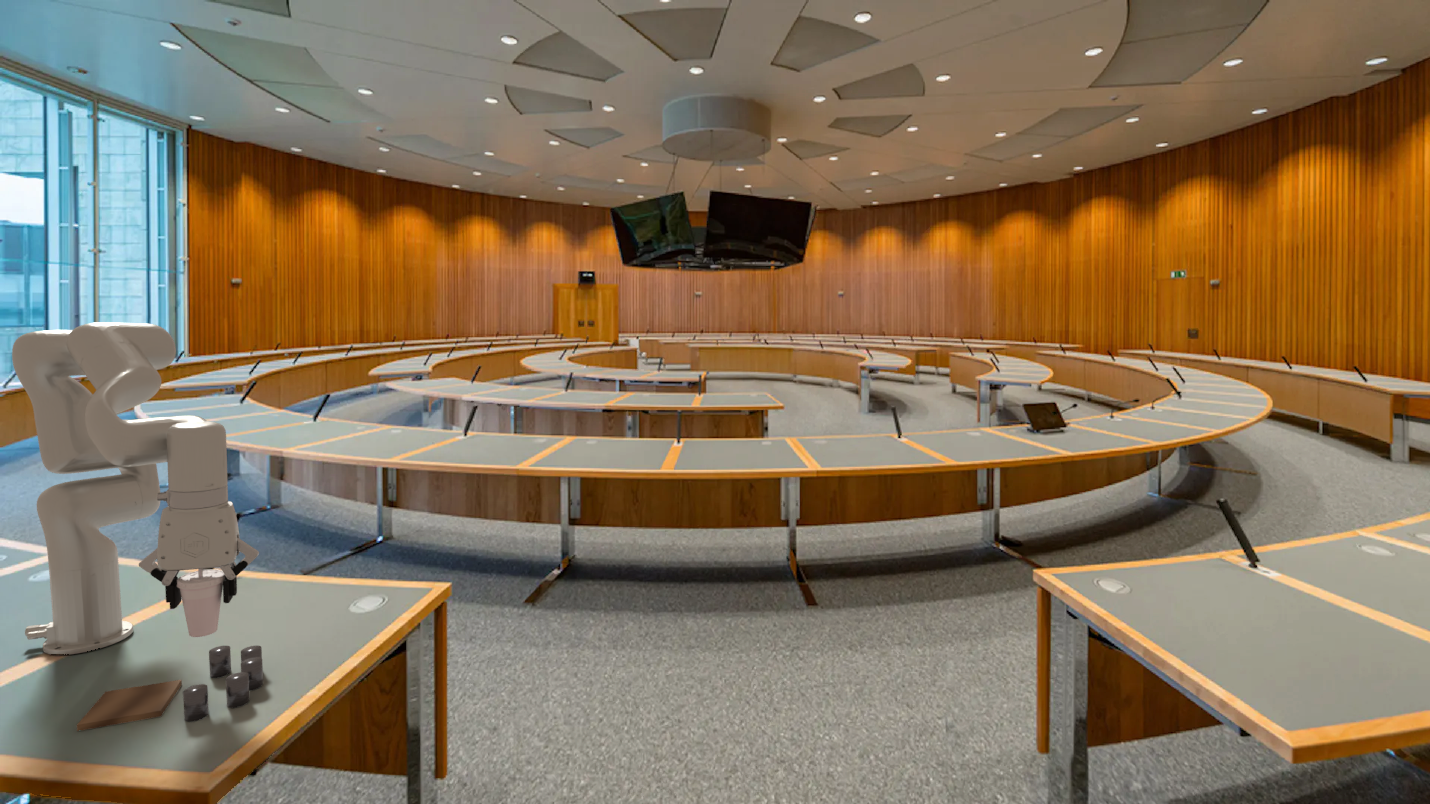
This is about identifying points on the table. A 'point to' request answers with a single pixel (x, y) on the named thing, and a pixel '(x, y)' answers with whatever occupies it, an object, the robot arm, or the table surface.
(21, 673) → the table surface
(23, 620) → the table surface
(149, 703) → the walnut pad
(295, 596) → the table surface
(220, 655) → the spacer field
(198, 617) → the smoothie
